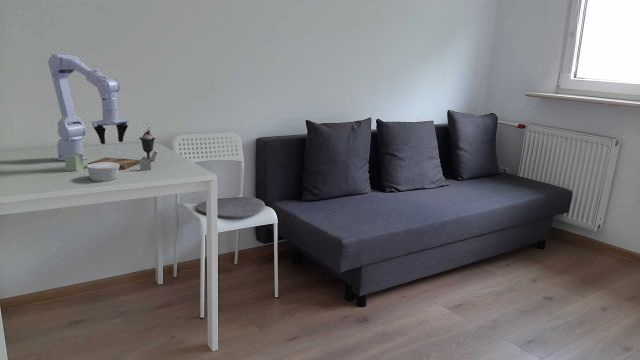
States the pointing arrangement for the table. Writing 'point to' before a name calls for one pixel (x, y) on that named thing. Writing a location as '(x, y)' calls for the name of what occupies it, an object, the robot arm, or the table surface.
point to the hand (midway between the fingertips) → (111, 142)
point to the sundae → (147, 143)
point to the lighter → (147, 161)
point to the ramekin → (103, 171)
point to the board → (119, 162)
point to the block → (74, 162)
